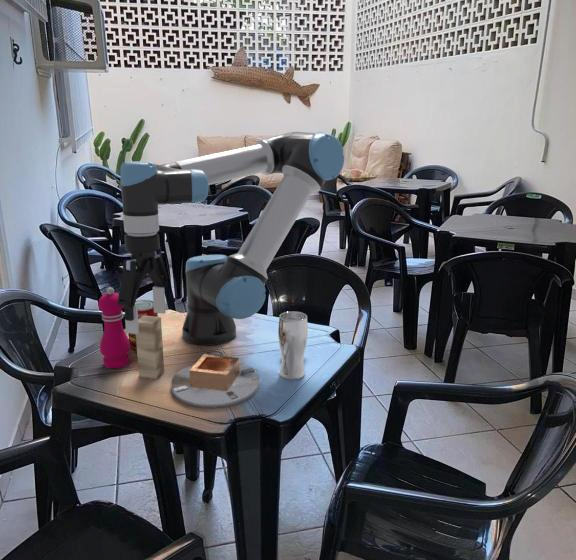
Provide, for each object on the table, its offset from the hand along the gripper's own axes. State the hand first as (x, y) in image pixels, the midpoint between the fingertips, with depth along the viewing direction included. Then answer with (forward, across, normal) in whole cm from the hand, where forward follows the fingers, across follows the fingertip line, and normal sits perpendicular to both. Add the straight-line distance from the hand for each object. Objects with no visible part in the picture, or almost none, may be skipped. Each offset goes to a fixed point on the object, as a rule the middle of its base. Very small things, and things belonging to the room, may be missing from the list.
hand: (146, 322), depth 123 cm
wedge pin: (+13, 0, 0) cm, 13 cm away
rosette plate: (+13, +2, +17) cm, 22 cm away
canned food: (+14, -14, -9) cm, 22 cm away
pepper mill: (+14, -3, -11) cm, 18 cm away
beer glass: (+13, -8, +33) cm, 37 cm away
